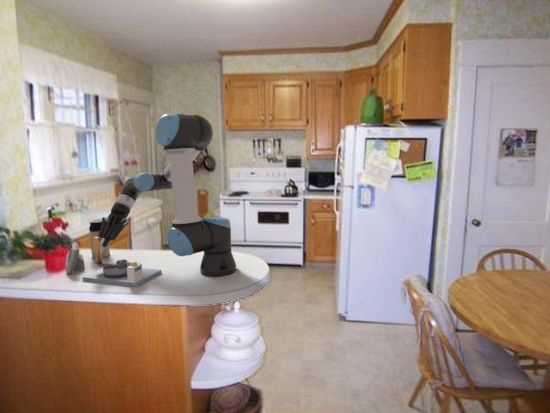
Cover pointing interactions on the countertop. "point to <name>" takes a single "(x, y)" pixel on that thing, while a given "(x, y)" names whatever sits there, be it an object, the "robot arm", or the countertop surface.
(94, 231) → the travel mug
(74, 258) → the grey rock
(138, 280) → the stand
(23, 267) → the countertop surface
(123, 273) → the crank
